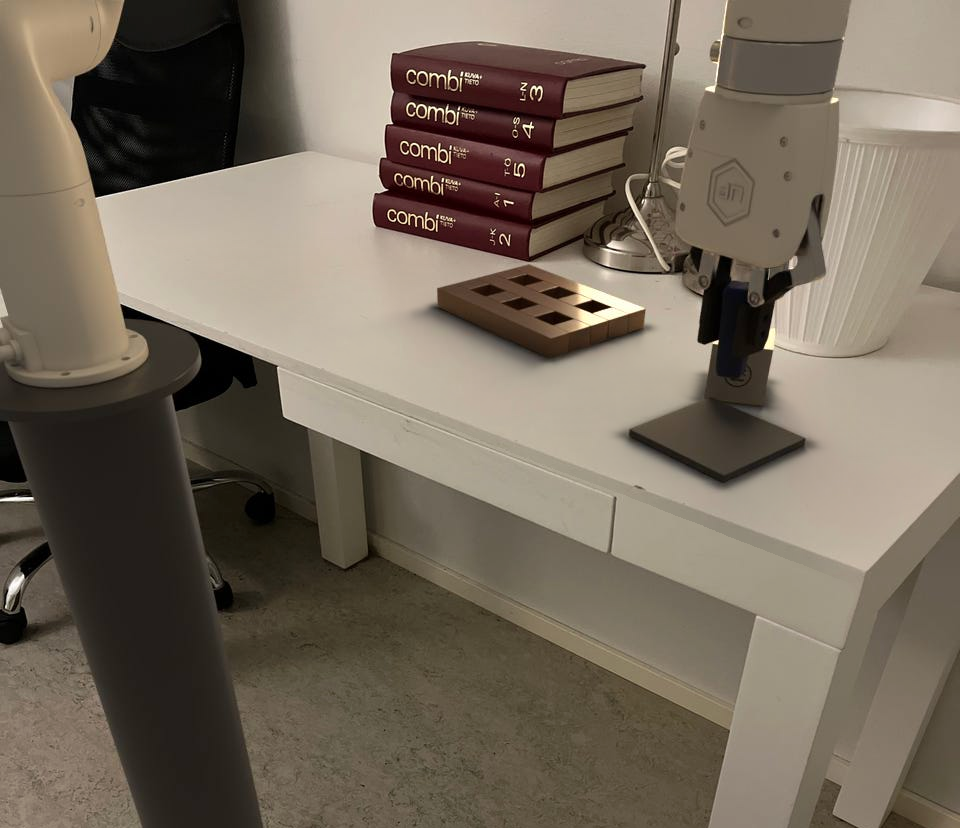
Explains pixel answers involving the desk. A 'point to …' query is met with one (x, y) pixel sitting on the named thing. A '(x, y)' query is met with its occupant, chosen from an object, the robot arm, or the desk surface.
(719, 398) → the dice cube
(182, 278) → the desk surface
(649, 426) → the coaster
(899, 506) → the desk surface
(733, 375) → the eraser
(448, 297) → the holder
